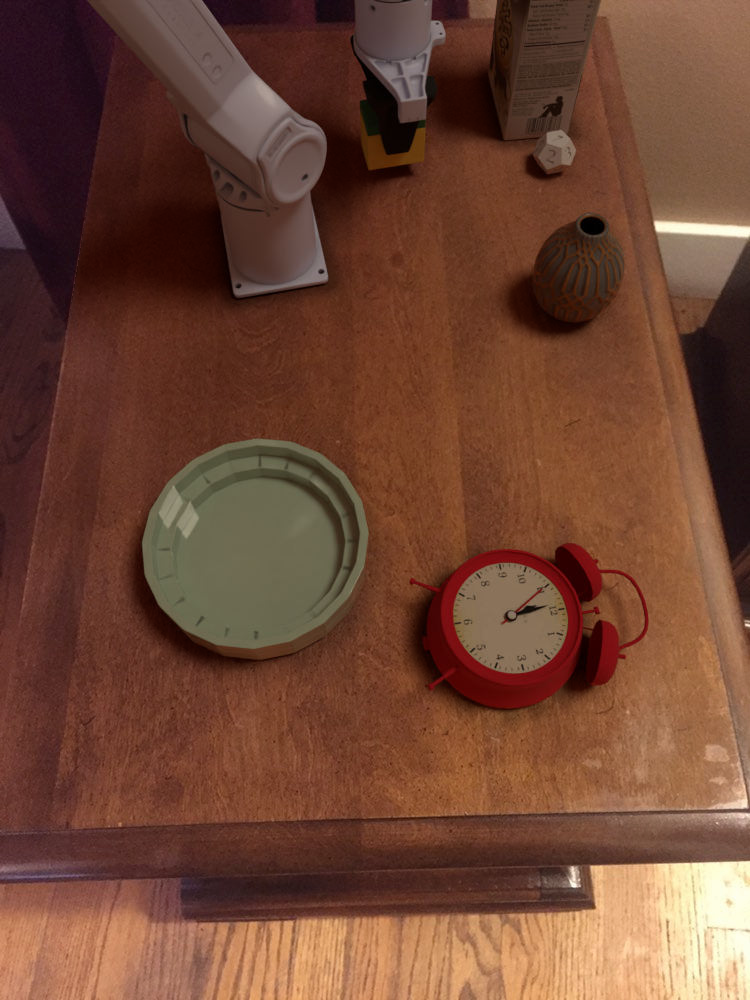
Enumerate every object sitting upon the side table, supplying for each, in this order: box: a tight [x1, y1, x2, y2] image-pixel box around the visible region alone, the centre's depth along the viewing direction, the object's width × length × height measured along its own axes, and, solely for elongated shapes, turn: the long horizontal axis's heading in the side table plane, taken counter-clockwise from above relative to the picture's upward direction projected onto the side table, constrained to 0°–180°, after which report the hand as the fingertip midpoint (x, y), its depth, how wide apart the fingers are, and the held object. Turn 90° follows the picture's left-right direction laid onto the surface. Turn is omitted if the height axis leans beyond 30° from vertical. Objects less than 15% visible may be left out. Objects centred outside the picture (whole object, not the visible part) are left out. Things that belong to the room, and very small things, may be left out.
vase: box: [532, 212, 626, 323], centre depth 63 cm, size 7×7×9 cm
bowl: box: [141, 437, 371, 661], centre depth 57 cm, size 15×15×4 cm
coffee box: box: [487, 0, 602, 141], centre depth 70 cm, size 9×6×16 cm
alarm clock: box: [408, 542, 650, 709], centre depth 54 cm, size 10×6×15 cm
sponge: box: [359, 98, 427, 171], centre depth 71 cm, size 5×3×4 cm
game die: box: [532, 130, 577, 175], centre depth 73 cm, size 4×4×3 cm
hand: (392, 134), depth 71 cm, fingers closed on sponge, 3 cm apart
